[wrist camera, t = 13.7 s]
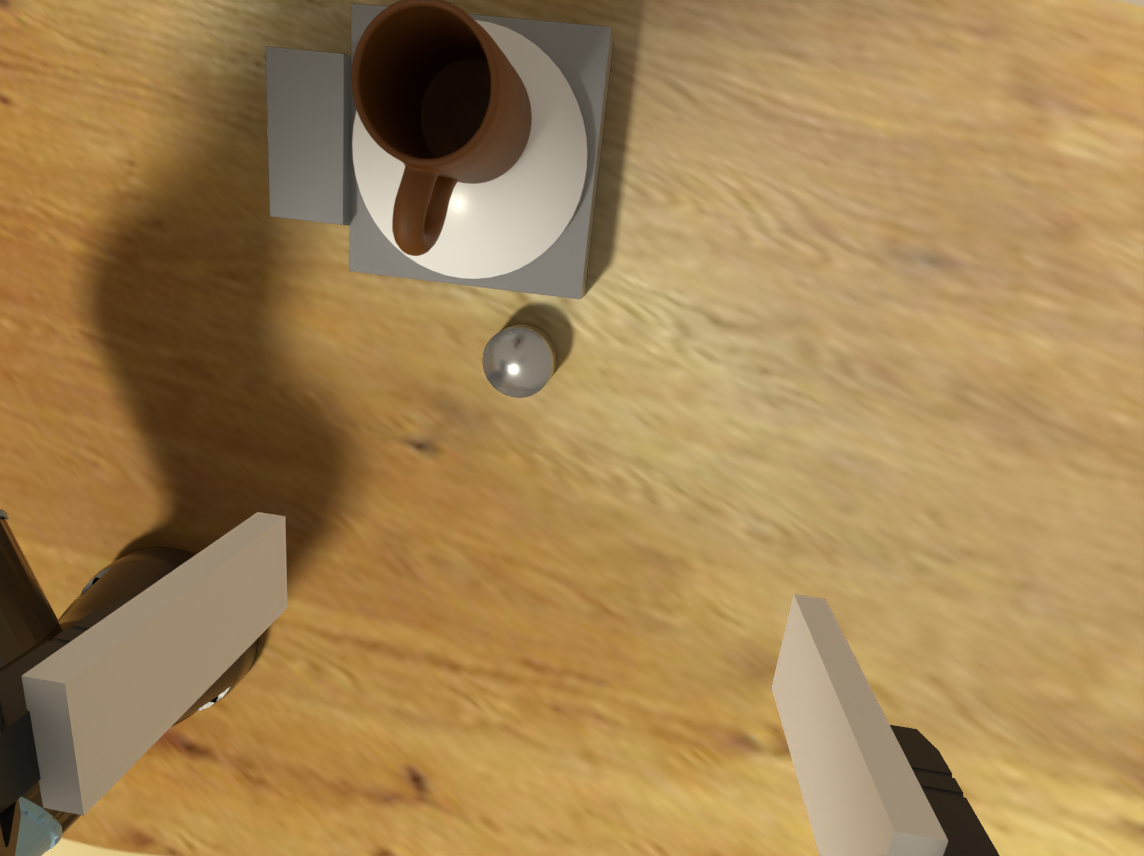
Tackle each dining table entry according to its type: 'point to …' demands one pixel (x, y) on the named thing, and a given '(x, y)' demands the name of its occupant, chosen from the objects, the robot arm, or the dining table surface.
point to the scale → (476, 211)
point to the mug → (437, 109)
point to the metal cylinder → (519, 360)
